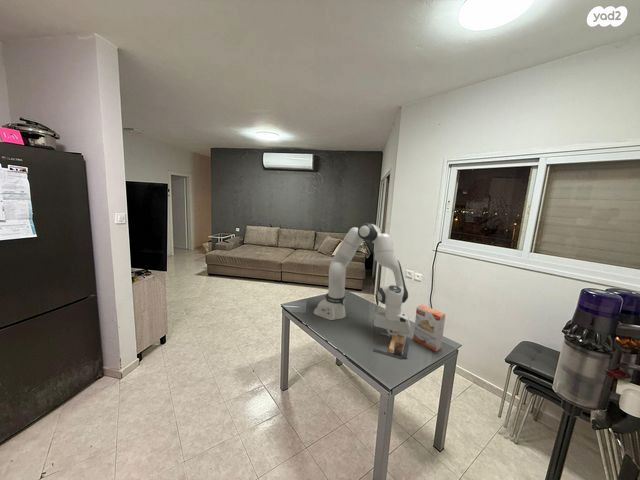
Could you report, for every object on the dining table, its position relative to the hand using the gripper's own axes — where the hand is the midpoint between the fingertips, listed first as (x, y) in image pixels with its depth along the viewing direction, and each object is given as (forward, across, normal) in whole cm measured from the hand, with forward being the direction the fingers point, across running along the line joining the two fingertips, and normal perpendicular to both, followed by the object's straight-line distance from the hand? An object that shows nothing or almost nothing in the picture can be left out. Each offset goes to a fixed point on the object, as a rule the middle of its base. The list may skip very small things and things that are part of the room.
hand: (390, 336), depth 142 cm
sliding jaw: (+2, +2, -6) cm, 7 cm away
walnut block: (+2, +6, -8) cm, 10 cm away
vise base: (+2, +2, -6) cm, 7 cm away
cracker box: (+2, +19, +5) cm, 20 cm away
